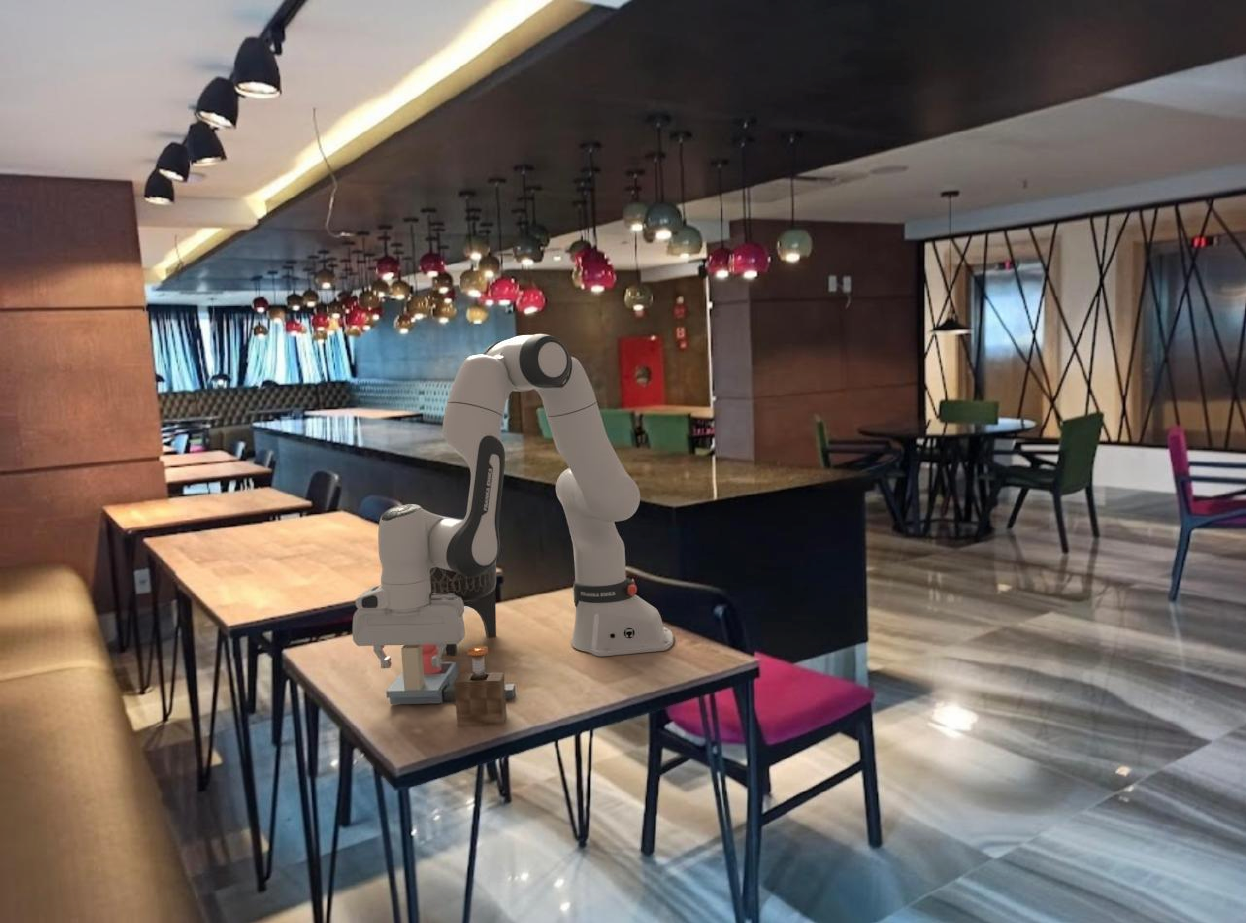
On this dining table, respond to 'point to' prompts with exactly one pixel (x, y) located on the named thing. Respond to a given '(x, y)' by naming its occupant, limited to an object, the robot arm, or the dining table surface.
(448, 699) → the rail
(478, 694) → the box
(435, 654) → the figurine
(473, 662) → the button
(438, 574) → the planter
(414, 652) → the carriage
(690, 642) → the dining table surface
